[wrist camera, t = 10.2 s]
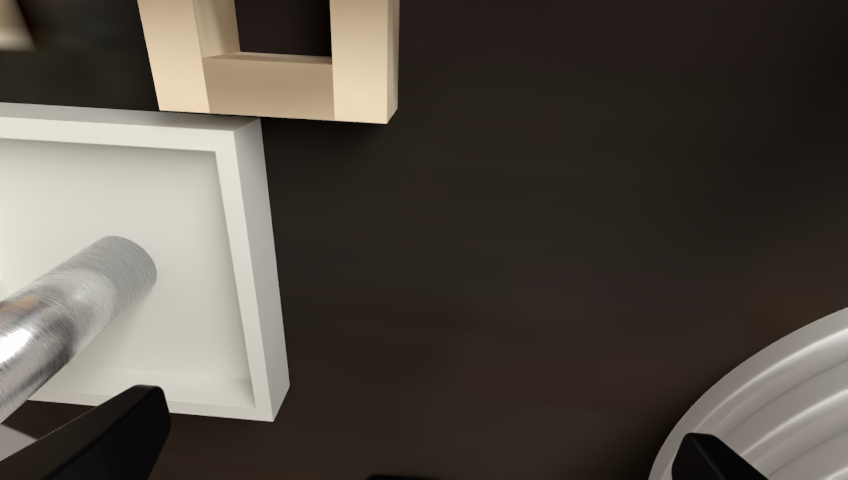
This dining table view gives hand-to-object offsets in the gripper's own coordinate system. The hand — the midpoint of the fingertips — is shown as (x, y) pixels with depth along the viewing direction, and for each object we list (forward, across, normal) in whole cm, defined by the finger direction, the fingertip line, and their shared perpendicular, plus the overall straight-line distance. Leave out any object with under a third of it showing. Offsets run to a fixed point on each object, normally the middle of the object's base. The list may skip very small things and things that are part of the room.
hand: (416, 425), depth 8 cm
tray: (+13, +15, +5) cm, 20 cm away
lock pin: (+12, +15, +5) cm, 20 cm away
